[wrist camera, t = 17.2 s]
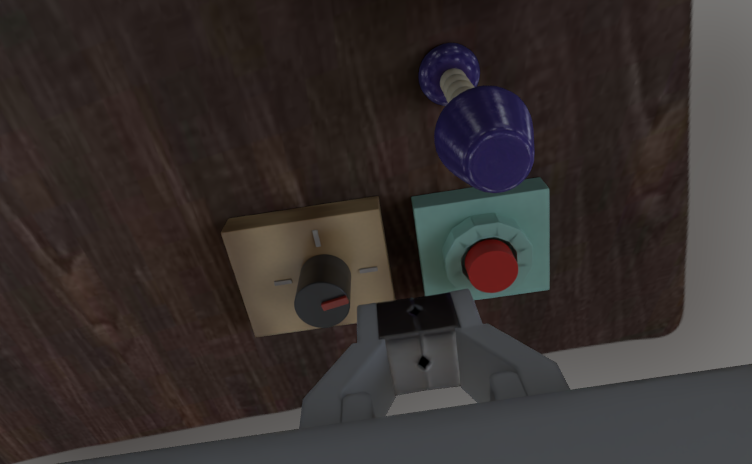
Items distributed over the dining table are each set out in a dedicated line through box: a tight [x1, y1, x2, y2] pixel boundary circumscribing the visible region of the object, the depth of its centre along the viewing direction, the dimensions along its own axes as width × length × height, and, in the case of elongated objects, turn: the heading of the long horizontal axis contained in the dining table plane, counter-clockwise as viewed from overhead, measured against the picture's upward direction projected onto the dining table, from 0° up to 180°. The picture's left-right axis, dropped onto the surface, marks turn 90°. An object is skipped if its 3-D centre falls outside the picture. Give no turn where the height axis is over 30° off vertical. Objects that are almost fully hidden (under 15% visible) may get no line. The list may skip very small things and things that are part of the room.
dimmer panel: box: [221, 196, 396, 337], centre depth 42 cm, size 12×10×3 cm
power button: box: [465, 239, 518, 293], centre depth 38 cm, size 4×4×2 cm
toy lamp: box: [419, 43, 534, 193], centre depth 29 cm, size 5×5×17 cm
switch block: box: [411, 177, 549, 300], centre depth 40 cm, size 10×9×4 cm
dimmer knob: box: [294, 254, 351, 328], centre depth 39 cm, size 4×4×4 cm
